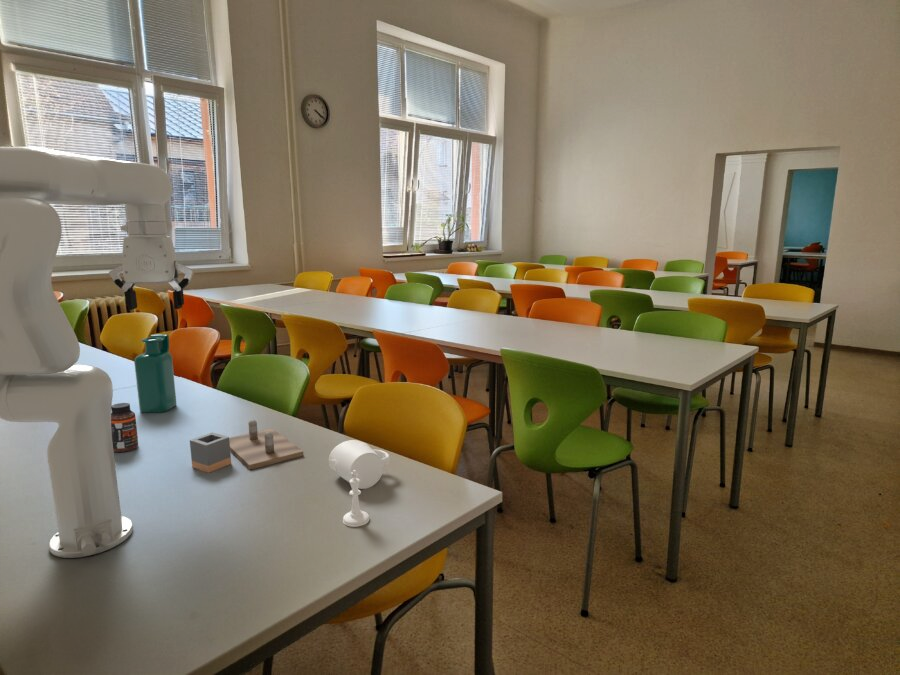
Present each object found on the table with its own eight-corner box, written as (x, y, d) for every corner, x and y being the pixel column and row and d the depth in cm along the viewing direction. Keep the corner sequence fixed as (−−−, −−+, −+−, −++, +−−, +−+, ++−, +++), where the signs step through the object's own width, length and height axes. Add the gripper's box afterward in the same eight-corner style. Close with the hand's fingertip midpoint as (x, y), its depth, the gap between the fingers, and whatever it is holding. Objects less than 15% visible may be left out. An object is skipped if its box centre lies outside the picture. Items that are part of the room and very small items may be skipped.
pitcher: (165, 413, 170) (157, 340, 165) (137, 412, 170) (128, 340, 166) (181, 403, 179) (174, 333, 175) (154, 402, 179) (147, 333, 175)
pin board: (303, 455, 138) (302, 431, 137) (249, 469, 130) (247, 444, 129) (272, 432, 154) (270, 410, 152) (222, 443, 146) (220, 420, 144)
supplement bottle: (126, 454, 139) (121, 409, 137) (105, 452, 141) (100, 407, 138) (144, 444, 145) (139, 402, 143) (123, 443, 146) (118, 400, 144)
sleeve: (231, 463, 134) (229, 437, 132) (208, 472, 129) (206, 445, 127) (214, 458, 137) (212, 432, 136) (192, 466, 132) (189, 440, 131)
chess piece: (357, 511, 111) (355, 462, 109) (374, 519, 108) (373, 469, 106) (337, 521, 108) (335, 471, 106) (354, 529, 105) (353, 478, 103)
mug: (346, 494, 119) (345, 458, 117) (329, 478, 126) (327, 443, 125) (397, 480, 125) (396, 445, 124) (378, 465, 133) (377, 432, 131)
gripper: (96, 230, 119) (106, 312, 122) (183, 230, 121) (190, 310, 124) (113, 229, 126) (122, 306, 129) (194, 229, 128) (201, 305, 131)
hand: (155, 308), depth 127 cm, fingers open, 9 cm apart
